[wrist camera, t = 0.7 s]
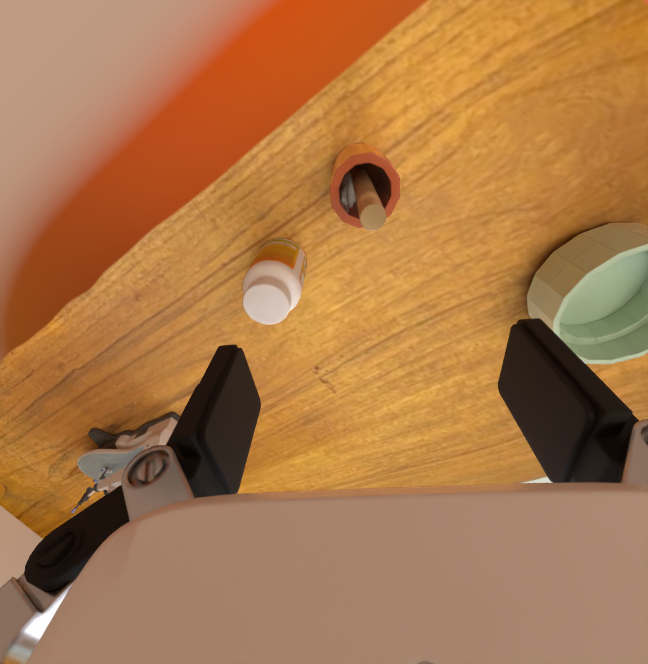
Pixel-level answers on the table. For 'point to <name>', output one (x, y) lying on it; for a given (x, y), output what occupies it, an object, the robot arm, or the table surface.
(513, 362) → the robot arm
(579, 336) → the bowl
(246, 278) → the supplement bottle
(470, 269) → the table surface
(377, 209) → the stick
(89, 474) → the jigsaw machine
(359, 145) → the utensil pot
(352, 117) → the table surface
